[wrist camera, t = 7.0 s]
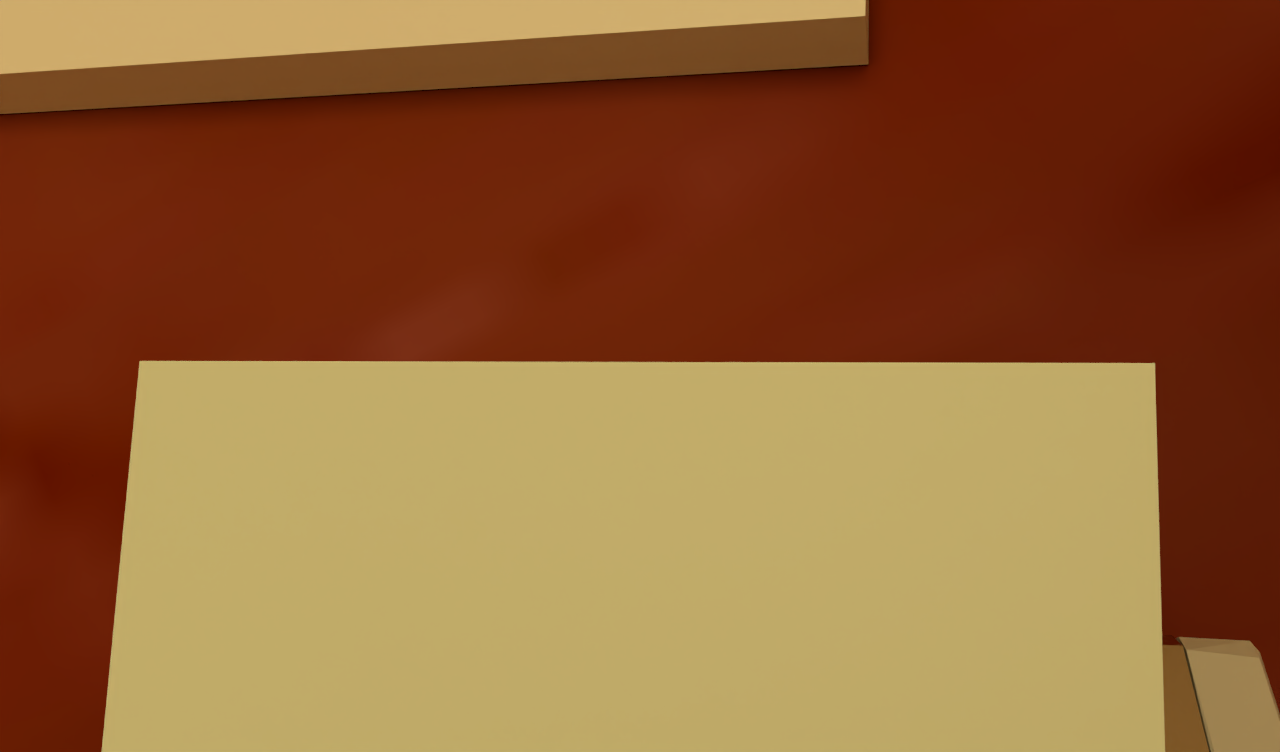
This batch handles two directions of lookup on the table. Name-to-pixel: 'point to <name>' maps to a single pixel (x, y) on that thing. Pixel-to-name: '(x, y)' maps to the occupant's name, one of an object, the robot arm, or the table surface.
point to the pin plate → (393, 45)
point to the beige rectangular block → (639, 558)
